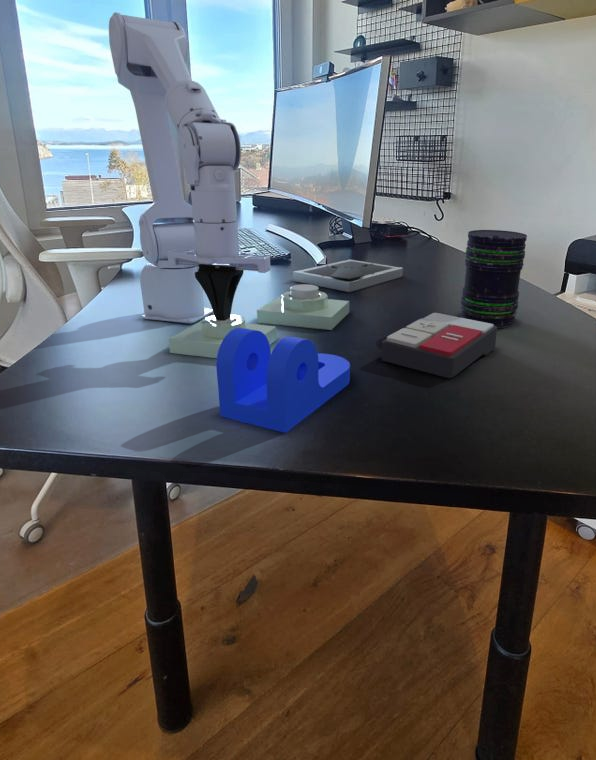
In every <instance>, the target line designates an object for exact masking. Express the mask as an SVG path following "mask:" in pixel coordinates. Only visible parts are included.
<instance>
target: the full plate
mask: <svg viewBox="0 0 596 760" xmlns="http://www.w3.org/2000/svg"><path fill="white" fill-rule="evenodd" d="M349 314H350V301H349V300H341V299H332V298H331V299H329V295H328V294H327V293H326V292H324V291H320V290H319V297H318V298H313V299H295V298H292V297H291V291H290V290H289V291H285V292H284V293H282V294H280V295H279V296H277V297H276V298H275V299H273V300H271V301H270V302H268V303H266V304H265V305H263V306H261V307H260V308H258V309H256V320H257V321H256V322H257V323H258V324H267V325H277V326H287V327H298V328H306V329H307V328H308V329H317V330H326V331H327V330H328V331H332V330H333V329H334V328H335V327H336V326H337V325H338V324H339V323H340V322H341V321H343V319H344V318H345V317H346V316H348V315H349Z"/></svg>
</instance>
